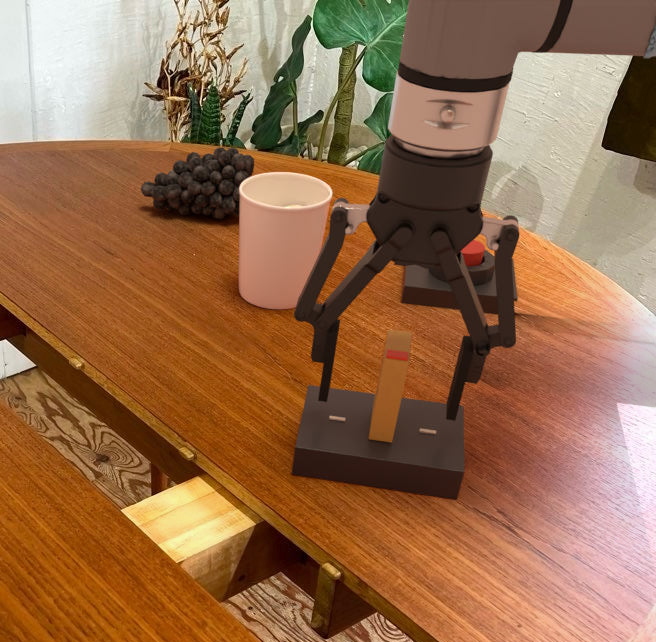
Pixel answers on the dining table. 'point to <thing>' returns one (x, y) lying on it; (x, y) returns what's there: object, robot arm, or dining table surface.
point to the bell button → (473, 253)
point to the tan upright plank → (390, 385)
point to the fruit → (188, 183)
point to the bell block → (437, 291)
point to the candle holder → (280, 235)
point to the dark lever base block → (380, 444)
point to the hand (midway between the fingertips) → (386, 402)
